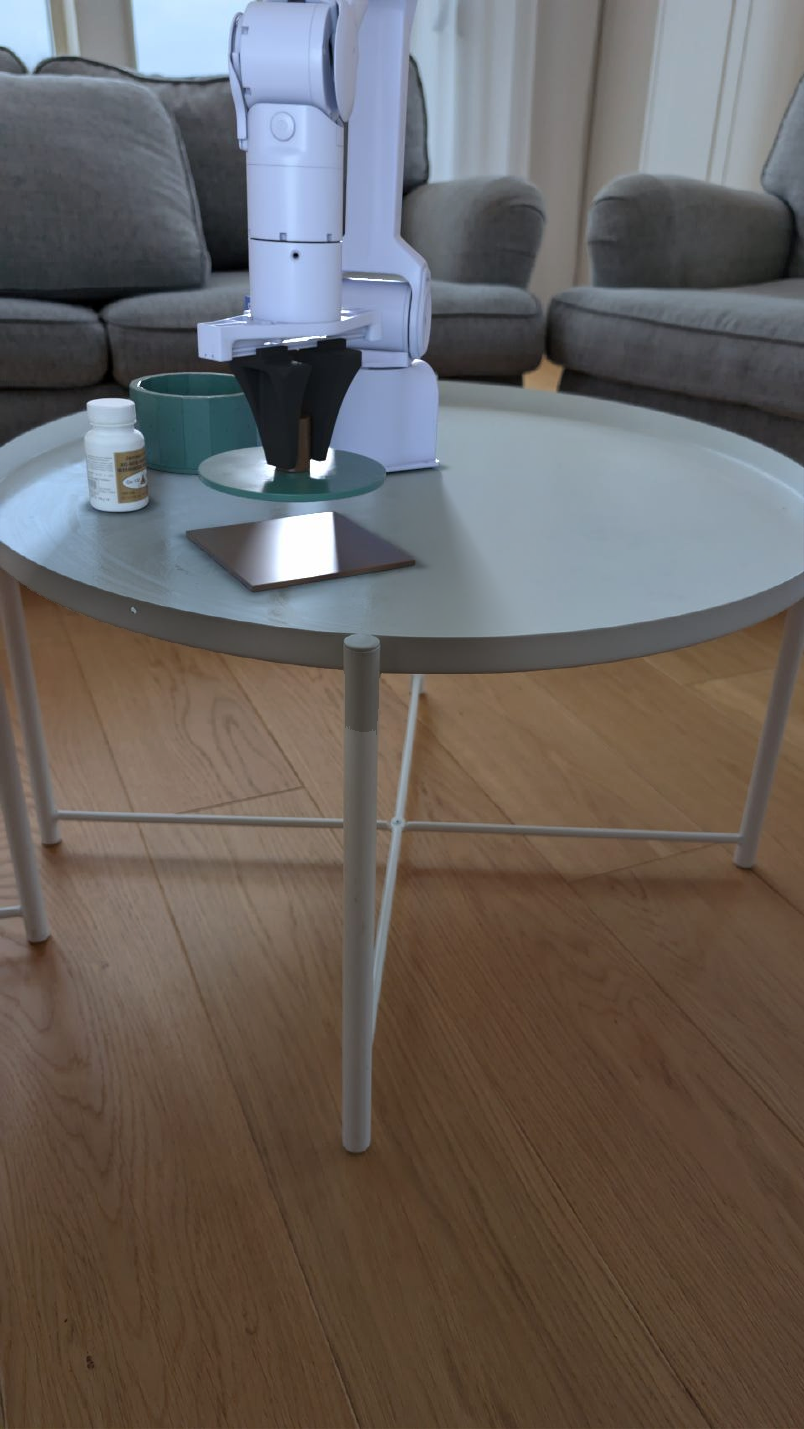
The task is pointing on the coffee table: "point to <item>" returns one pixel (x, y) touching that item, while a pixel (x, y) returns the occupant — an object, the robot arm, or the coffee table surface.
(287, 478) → the pot lid
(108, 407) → the pill bottle
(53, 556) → the coffee table surface
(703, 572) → the coffee table surface
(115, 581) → the coffee table surface
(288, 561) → the plate
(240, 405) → the pot
